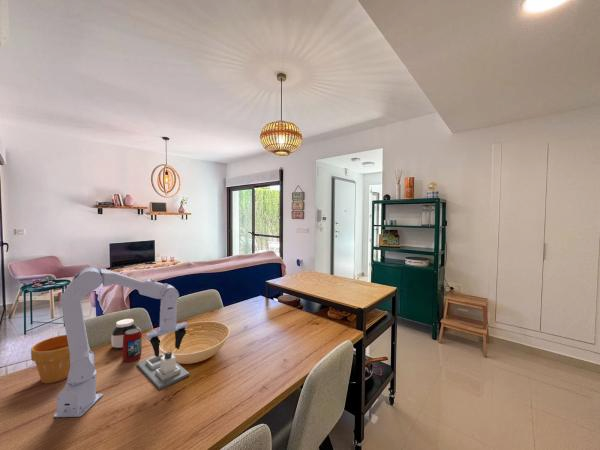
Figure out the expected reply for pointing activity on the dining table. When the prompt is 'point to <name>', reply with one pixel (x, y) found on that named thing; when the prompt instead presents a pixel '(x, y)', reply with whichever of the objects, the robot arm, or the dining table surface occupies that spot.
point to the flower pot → (52, 359)
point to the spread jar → (121, 332)
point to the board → (153, 372)
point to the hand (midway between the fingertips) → (167, 351)
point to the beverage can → (132, 344)
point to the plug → (167, 363)
